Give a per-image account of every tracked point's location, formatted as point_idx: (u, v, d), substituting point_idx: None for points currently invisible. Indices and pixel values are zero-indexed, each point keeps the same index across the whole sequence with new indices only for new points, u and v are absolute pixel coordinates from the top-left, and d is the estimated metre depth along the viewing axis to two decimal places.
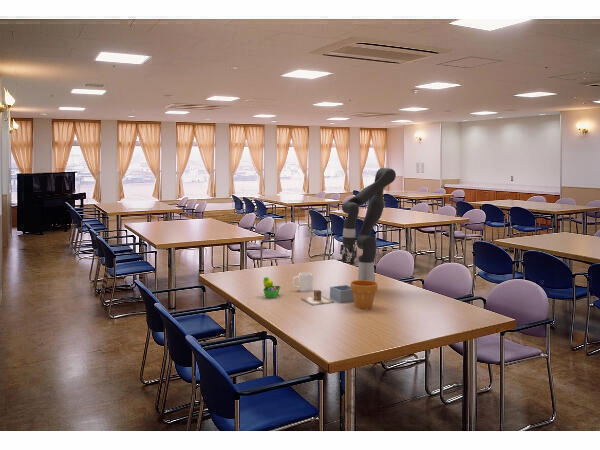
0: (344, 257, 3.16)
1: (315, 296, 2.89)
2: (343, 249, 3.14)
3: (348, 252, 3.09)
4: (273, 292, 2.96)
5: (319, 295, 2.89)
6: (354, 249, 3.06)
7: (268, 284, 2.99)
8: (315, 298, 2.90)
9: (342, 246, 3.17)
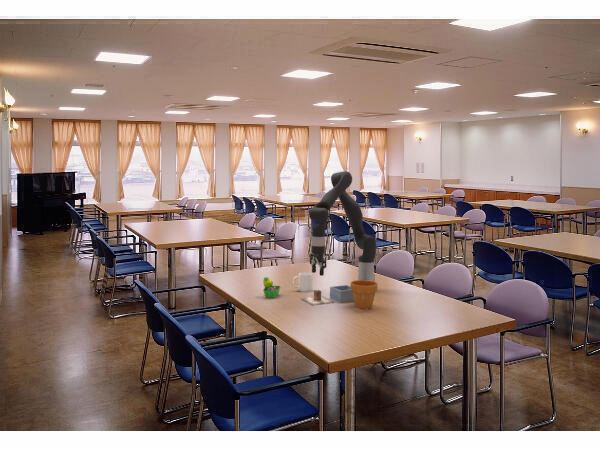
0: (314, 267, 2.92)
1: (315, 296, 2.89)
2: (312, 259, 2.90)
3: (317, 262, 2.85)
4: (273, 292, 2.96)
5: (319, 295, 2.89)
6: (323, 259, 2.82)
7: (268, 284, 2.99)
8: (315, 298, 2.90)
9: (312, 255, 2.93)
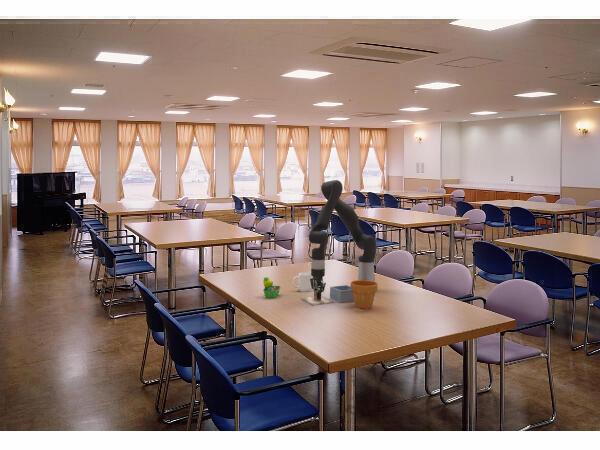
0: None
1: (315, 296, 2.89)
2: (313, 282, 2.91)
3: (316, 285, 2.87)
4: (273, 292, 2.96)
5: None
6: (322, 285, 2.84)
7: (268, 284, 2.99)
8: (315, 298, 2.90)
9: (312, 280, 2.94)
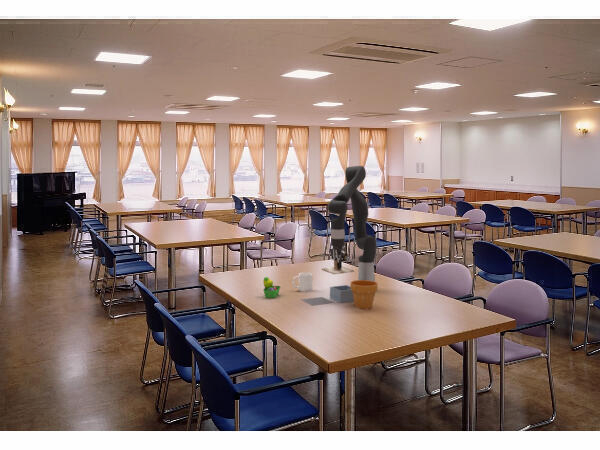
0: None
1: (335, 266, 2.91)
2: (333, 252, 2.92)
3: (336, 255, 2.89)
4: (273, 292, 2.96)
5: None
6: (343, 254, 2.85)
7: (268, 284, 2.99)
8: (335, 268, 2.91)
9: (332, 250, 2.95)
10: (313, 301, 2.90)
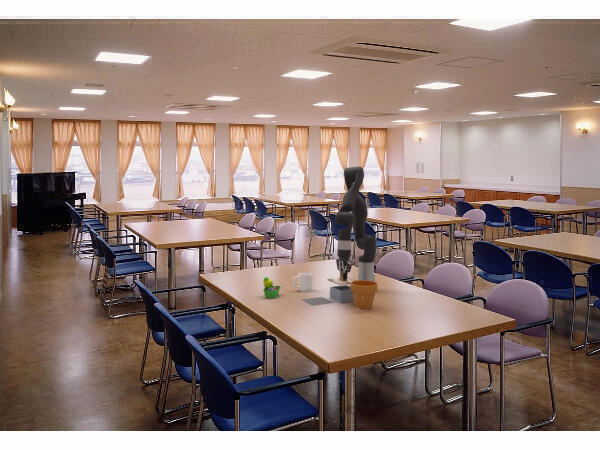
0: None
1: (341, 277, 2.93)
2: (339, 263, 2.94)
3: (342, 266, 2.91)
4: (273, 292, 2.96)
5: None
6: (349, 265, 2.87)
7: (268, 284, 2.99)
8: (341, 278, 2.93)
9: None
10: (313, 301, 2.90)
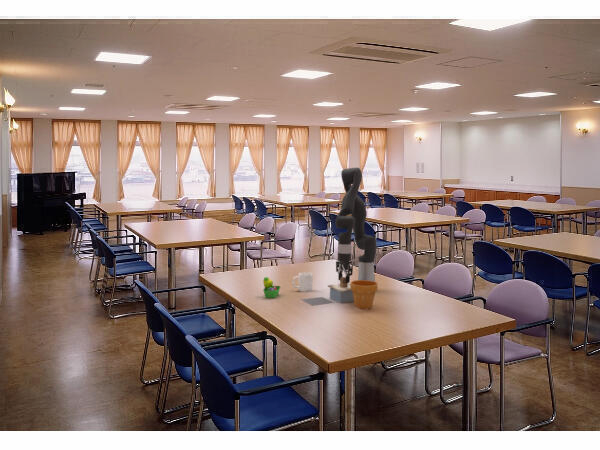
0: (340, 275, 2.97)
1: (341, 283, 2.93)
2: (339, 266, 2.94)
3: (344, 269, 2.90)
4: (273, 292, 2.96)
5: (345, 282, 2.93)
6: (350, 267, 2.87)
7: (268, 284, 2.99)
8: (341, 285, 2.93)
9: (337, 263, 2.97)
10: (313, 301, 2.90)
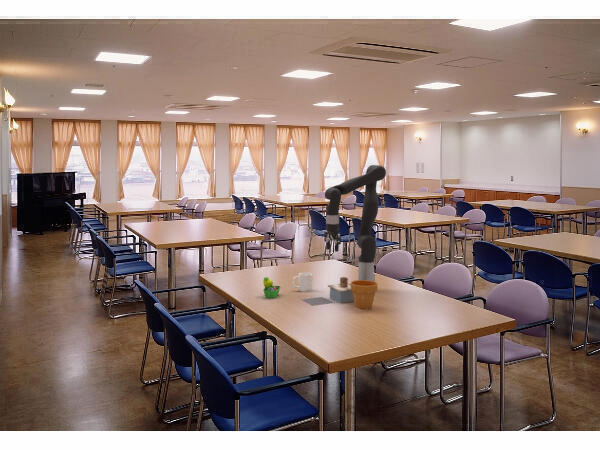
0: (328, 244, 3.11)
1: (341, 283, 2.93)
2: (327, 236, 3.09)
3: (332, 239, 3.04)
4: (273, 292, 2.96)
5: (345, 282, 2.93)
6: (338, 236, 3.01)
7: (268, 284, 2.99)
8: (341, 285, 2.93)
9: (326, 233, 3.11)
10: (313, 301, 2.90)
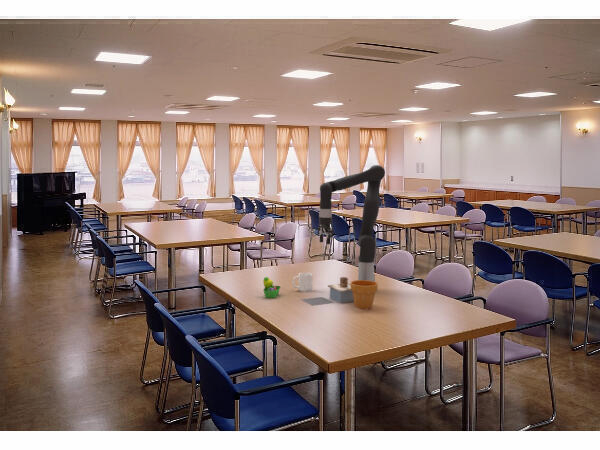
0: (321, 237, 3.22)
1: (341, 283, 2.93)
2: (320, 229, 3.19)
3: (325, 232, 3.14)
4: (273, 292, 2.96)
5: (345, 282, 2.93)
6: (330, 229, 3.11)
7: (268, 284, 2.99)
8: (341, 285, 2.93)
9: None
10: (313, 301, 2.90)
